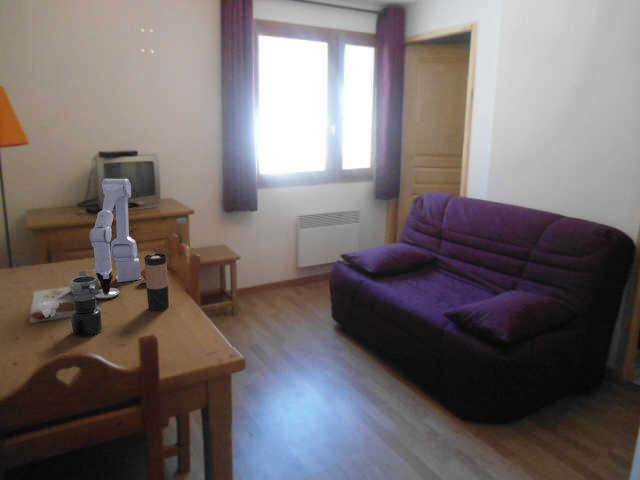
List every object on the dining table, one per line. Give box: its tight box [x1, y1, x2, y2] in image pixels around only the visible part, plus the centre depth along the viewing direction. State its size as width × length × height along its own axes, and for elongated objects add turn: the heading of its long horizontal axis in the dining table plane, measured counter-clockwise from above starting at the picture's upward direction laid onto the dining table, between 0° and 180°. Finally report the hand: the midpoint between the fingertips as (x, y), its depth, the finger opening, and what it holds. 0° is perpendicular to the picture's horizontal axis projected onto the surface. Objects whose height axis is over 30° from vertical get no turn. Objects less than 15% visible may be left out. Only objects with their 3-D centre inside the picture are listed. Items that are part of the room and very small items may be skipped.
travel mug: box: [143, 253, 170, 312], centre depth 185 cm, size 8×8×20 cm
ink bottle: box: [70, 294, 103, 337], centre depth 165 cm, size 10×9×12 cm
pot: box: [69, 270, 100, 296], centre depth 204 cm, size 10×20×5 cm, turn 28°
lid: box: [93, 287, 120, 300], centre depth 197 cm, size 10×10×5 cm
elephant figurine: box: [37, 299, 60, 318], centre depth 178 cm, size 7×8×6 cm
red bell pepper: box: [139, 267, 146, 284], centre depth 213 cm, size 7×7×10 cm
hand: (106, 291), depth 197 cm, fingers closed on lid, 2 cm apart
